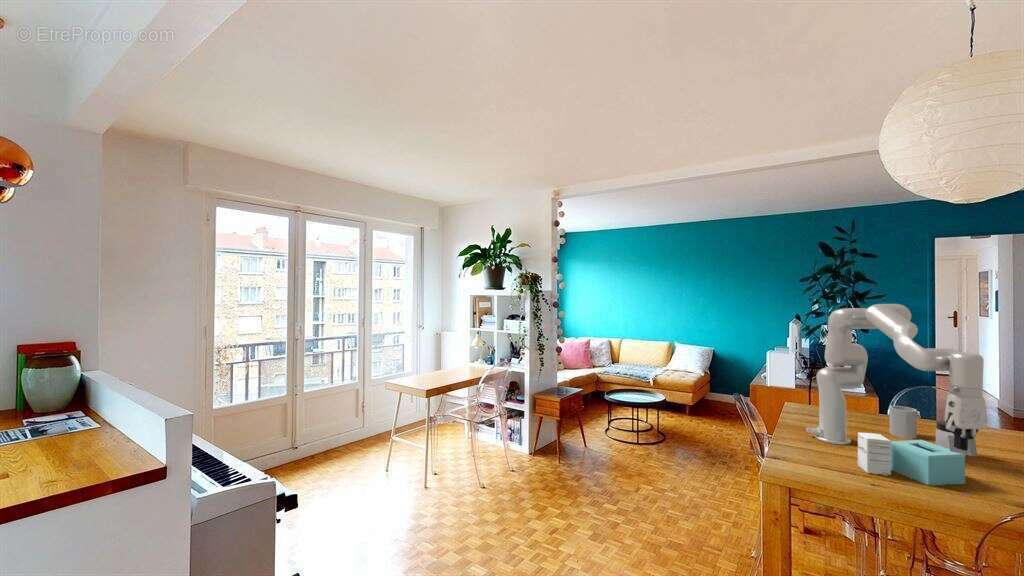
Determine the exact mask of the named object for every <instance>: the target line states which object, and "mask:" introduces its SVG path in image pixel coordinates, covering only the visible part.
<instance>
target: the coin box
mask: <svg viewBox="0 0 1024 576" xmlns="http://www.w3.org/2000/svg"><path fill="white" fill-rule="evenodd" d="M890 441H891V471H893V470H894V471H893V472H895V471H896V473H897V472H899V473H898V474H900V473H901V474H900V475H902V474H904V475H906V476H905V477H907V476H908V477H907V478H909V477H911V478H910V479H912V478H913V479H912V480H914V479H915V480H914V481H916V480H918V481H917V482H919V481H920V482H919V483H921V482H922V483H921V484H923V483H925V484H924V485H926V484H927V485H926V486H928V485H931V486H948V484H950V485H964V484H966V456H965V454H960V453H956V452H951V451H950V449H948V448H945V447H942V446H939V445H936V443H932V442H929V441H926V440H924V439H917V440H916V439H915V440H914V439H913V440H912V439H910V440H890ZM904 475H903V476H904ZM946 484H947V485H946Z"/></svg>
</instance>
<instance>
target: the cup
mask: <svg viewBox="0 0 1024 576" xmlns="http://www.w3.org/2000/svg"><path fill="white" fill-rule="evenodd" d="M889 434H891V436H895V437H897V438H898V437H899V438H903V439H917V438H918V410H917V409H916V408H913V407H908V406H902V405H890V406H889Z"/></svg>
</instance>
